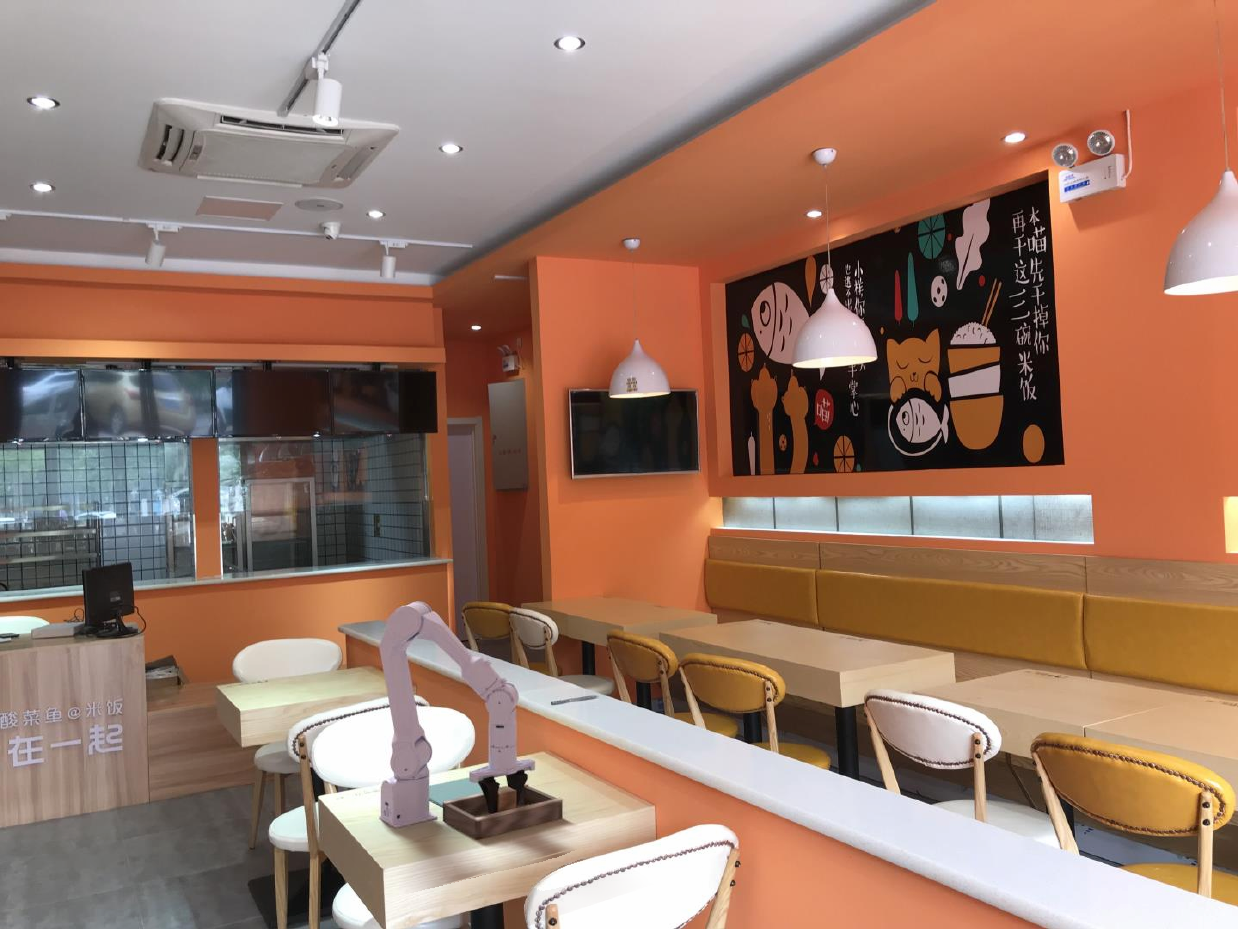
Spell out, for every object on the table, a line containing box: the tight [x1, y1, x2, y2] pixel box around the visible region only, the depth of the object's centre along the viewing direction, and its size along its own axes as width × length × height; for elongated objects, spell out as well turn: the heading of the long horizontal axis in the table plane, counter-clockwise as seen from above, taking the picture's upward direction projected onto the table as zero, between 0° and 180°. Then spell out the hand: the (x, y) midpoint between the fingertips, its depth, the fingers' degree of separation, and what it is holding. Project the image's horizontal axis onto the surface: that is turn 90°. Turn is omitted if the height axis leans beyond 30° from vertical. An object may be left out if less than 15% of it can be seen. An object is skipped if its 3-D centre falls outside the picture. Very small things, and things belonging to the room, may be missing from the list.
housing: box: [442, 782, 564, 840], centre depth 198 cm, size 20×14×4 cm
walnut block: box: [488, 785, 516, 815], centre depth 198 cm, size 4×4×6 cm
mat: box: [429, 777, 483, 808], centre depth 216 cm, size 16×16×1 cm
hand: (502, 811), depth 198 cm, fingers open, 4 cm apart
